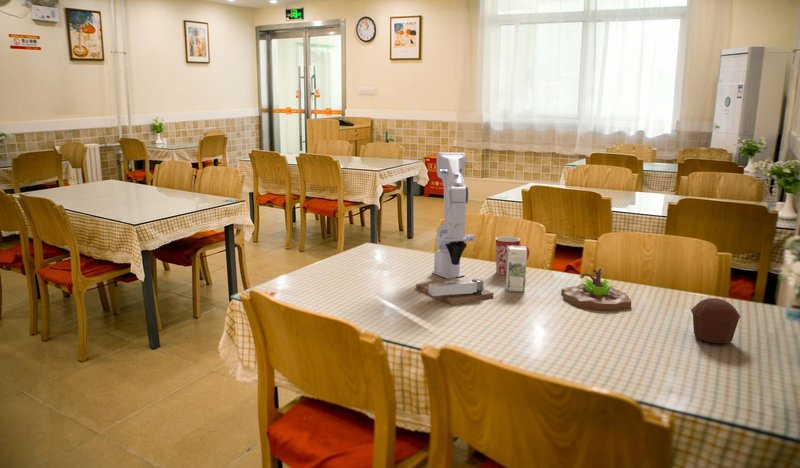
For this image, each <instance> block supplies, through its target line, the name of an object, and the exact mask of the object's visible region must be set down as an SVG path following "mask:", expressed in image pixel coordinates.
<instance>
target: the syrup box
mask: <svg viewBox="0 0 800 468" xmlns="http://www.w3.org/2000/svg"><path fill="white" fill-rule="evenodd" d="M525 246H526V245H525ZM525 246H521V245H520V246H508V256H507V274H506V276H505V277H506V278H505V279H506V280H505V289H506V290H507V291H506V292H513V293H514V292H516V293H525V292H526V291H525V290H526V289H525V288H526V272H527V261H528V259H527V249H526V247H525Z"/></svg>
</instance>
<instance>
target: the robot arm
mask: <svg viewBox="0 0 800 468" xmlns="http://www.w3.org/2000/svg"><path fill="white" fill-rule="evenodd" d="M465 169H466V154H465V153H464V151H462V152H442V151H438V152H437V154H436V174H437V178H439V179H441V180H442V184H443V213H444V214H443V216H444V217H443V218H444V221H443V223H442V224H441V225H439V226H438V227H437V230H436V241H435V245H436V248H437V250H436V251H435V253H434V257H433V259H434V261H433V271H431V273H432V274H434V275H437V276H440V277H442V278H445V279H452V278H459V277H465V276H466V275H465V274H464V273H462V272H461V259H462V255H463V253H464V250H465V249H466V248H467V243H466V242H475V241H476V235H475V234H473V233H471V234H470V233H469V234H468V233H467V234H466V221H467V220H466V217H467V205H468V203H469V195H470V194H469V193H470V192H469V187H468V185H466V184H465V178H464V176H463V175H464V173H465V172H464V171H465Z"/></svg>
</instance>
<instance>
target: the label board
mask: <svg viewBox="0 0 800 468" xmlns="http://www.w3.org/2000/svg"><path fill="white" fill-rule="evenodd" d="M457 281H462V280H461V279H458V278H457V277H454V278H445V279H440V280H433V281H427V282H421V283H416V284H415V289H416V290H418V291H420V292H423V293H425V294H426V295H429V296H431V295H430V294H428V292H429V284H435V283H446V282H457ZM433 297H434V298H437V300H441V301H443V302H444V303H448V304H450V305H452V306H455V305H461V304H465V303H469V302H476V301H477V302H478V301H481V300H486V299H491V298H494V292H493V291H489V290H487V289H485V288H484V291H483V292H471V293H460V294H450V295H440V296H433Z"/></svg>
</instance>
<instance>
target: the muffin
mask: <svg viewBox="0 0 800 468" xmlns="http://www.w3.org/2000/svg"><path fill="white" fill-rule="evenodd" d="M690 312H691V314H692V326H693V327H692V328H693V334H694V337H695V338H698V339H699V340H702V341H703V342H709V343H713V344H727V343H732V341H733V338H734V336H735V332H736V329H737V326H738V323H739V319H740V318H741V317H742V316H741V315H740V314H739V311H738V310H737V309H736V308H735V306H734V305H732V304H731V303H730V302H728V301H727V300H725V299H724V300H723V299H720V298H714V297H711V298H704V299H702V300H700V301H699V302H698V303H696V304H695V305H694V306H693V307H692V308H691V309H690Z"/></svg>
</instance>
